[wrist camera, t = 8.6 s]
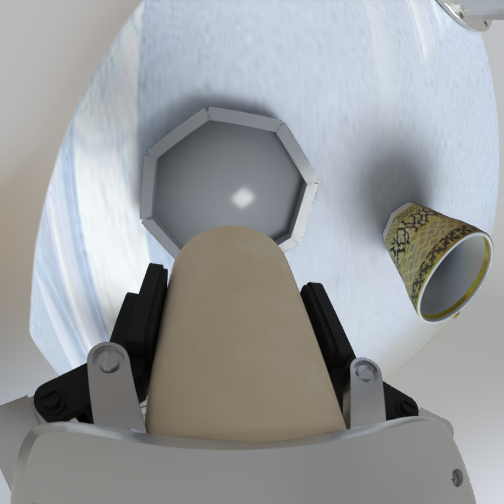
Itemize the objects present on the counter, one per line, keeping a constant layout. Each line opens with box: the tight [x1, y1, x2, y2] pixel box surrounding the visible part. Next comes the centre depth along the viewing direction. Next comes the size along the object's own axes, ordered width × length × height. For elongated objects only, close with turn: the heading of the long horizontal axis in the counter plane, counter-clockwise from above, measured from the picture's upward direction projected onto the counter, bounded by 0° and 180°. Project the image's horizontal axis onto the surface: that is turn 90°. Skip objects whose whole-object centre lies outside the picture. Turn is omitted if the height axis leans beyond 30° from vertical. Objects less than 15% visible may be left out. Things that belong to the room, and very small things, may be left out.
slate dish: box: [140, 106, 319, 259], centre depth 22 cm, size 14×14×2 cm
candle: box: [144, 225, 347, 442], centre depth 9 cm, size 6×6×10 cm
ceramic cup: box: [383, 202, 493, 324], centre depth 23 cm, size 13×10×10 cm
